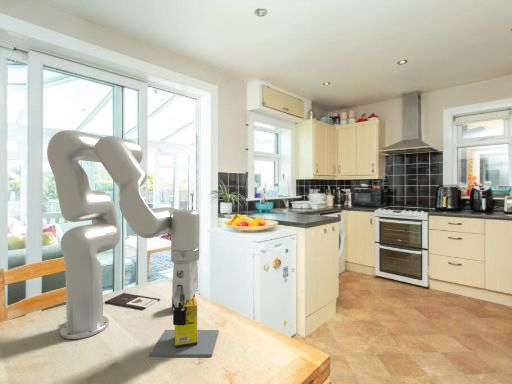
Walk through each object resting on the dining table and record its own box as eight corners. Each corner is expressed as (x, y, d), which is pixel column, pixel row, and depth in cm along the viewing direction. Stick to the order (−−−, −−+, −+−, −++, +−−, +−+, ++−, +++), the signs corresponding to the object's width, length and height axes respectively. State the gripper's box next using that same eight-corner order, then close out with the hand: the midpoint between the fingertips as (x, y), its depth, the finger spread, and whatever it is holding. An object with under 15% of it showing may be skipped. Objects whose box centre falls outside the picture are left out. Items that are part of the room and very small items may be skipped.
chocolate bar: (123, 292, 112) (160, 298, 106) (123, 295, 112) (160, 301, 106) (104, 301, 104) (143, 308, 98) (104, 304, 104) (143, 311, 98)
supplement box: (197, 344, 75) (197, 304, 75) (174, 348, 73) (174, 307, 73) (196, 333, 81) (195, 296, 81) (174, 337, 79) (174, 299, 79)
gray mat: (149, 356, 71) (149, 354, 71) (165, 331, 83) (165, 329, 83) (211, 356, 71) (211, 354, 71) (218, 331, 83) (218, 329, 83)
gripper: (191, 263, 68) (190, 332, 68) (204, 247, 85) (204, 302, 86) (160, 263, 68) (159, 332, 68) (180, 247, 85) (179, 302, 86)
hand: (184, 315), depth 77 cm, fingers open, 9 cm apart
